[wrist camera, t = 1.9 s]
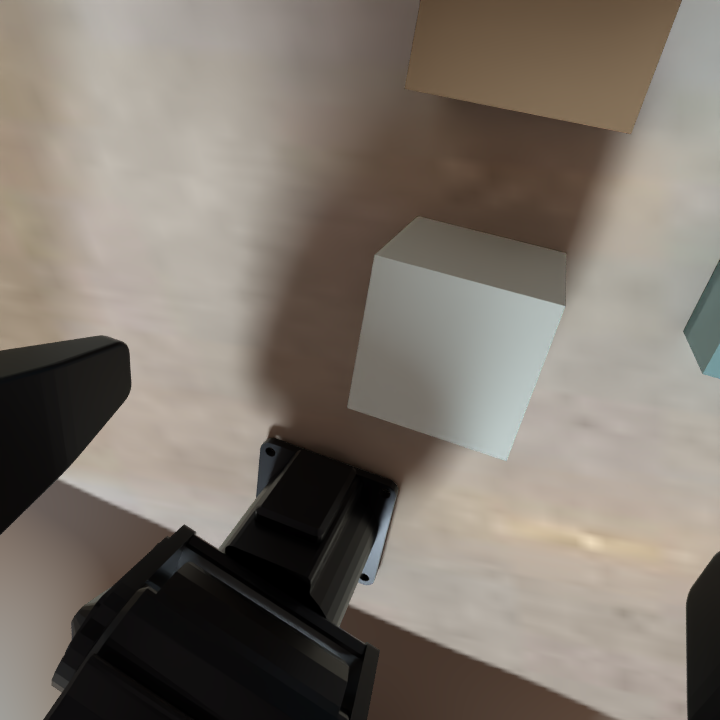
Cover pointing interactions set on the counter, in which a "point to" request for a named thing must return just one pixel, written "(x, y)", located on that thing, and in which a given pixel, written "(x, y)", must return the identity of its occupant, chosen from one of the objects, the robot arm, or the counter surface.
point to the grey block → (457, 333)
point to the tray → (707, 328)
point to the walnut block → (543, 55)
